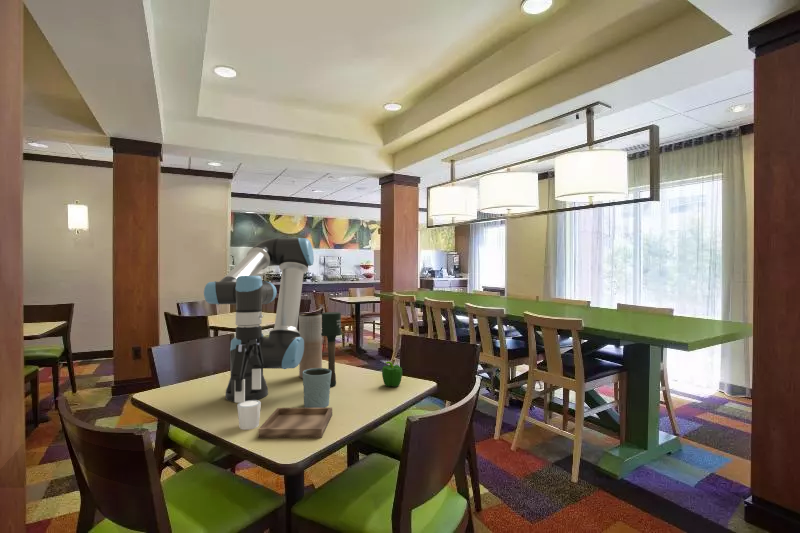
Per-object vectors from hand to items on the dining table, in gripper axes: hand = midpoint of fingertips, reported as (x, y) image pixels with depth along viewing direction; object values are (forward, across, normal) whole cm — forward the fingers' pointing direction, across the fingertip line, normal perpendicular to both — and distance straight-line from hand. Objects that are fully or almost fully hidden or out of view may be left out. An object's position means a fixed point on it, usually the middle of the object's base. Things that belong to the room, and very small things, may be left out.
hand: (248, 395), depth 125 cm
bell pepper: (+9, +44, -43) cm, 62 cm away
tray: (+10, +1, -15) cm, 18 cm away
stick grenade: (+9, +44, -18) cm, 48 cm away
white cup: (+10, +1, 0) cm, 10 cm away
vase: (+9, +59, -6) cm, 60 cm away
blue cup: (+9, +20, -17) cm, 28 cm away
